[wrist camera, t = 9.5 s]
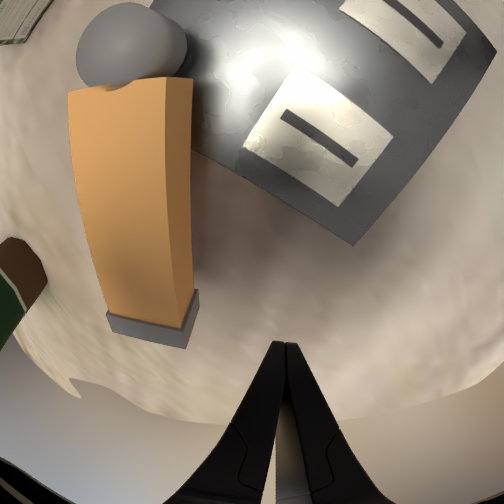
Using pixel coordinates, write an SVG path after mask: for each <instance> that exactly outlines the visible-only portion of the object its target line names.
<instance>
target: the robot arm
mask: <svg viewBox="0 0 504 504" xmlns="http://www.w3.org/2000/svg"><path fill="white" fill-rule="evenodd" d="M275 436H276V504H396V503H394V502H392V501H391V500H389V499H388V498H387V497H385V496H384V495H383V494H382V493H381V492H380V491H379V490H378V489H377V487H376V486H375V484H374V483H373V482H372V480H371V479H370V477H369V476H368V474H367V473H366V472H365V470H364V469H363V467H362V466H361V464H360V463H359V461H358V460H357V458H356V457H355V455H354V454H353V452H352V450H351V449H350V447H349V445H348V443H347V441H346V439H345V437H344V435H343V433H342V432H341V430H340V429H339V426H338V424H337V422H336V420H335V418H334V416H333V414H332V412H331V410H330V408H329V406H328V404H327V402H326V400H325V398H324V396H323V394H322V392H321V390H320V388H319V386H318V384H317V382H316V380H315V378H314V376H313V374H312V372H311V370H310V368H309V366H308V364H307V362H306V360H305V358H304V356H303V354H302V352H301V350H300V347H299V346H298V344H297V343H291V342H286V343H284V342H282V341H272V343H271V345H270V347H269V349H268V351H267V353H266V355H265V357H264V359H263V361H262V363H261V365H260V367H259V369H258V371H257V373H256V375H255V377H254V379H253V381H252V383H251V385H250V387H249V388H248V390H247V392H246V394H245V396H244V398H243V400H242V402H241V404H240V405H239V407H238V409H237V411H236V413H235V415H234V416H233V418H232V420H231V423H229V425H228V427H227V429H226V430H225V432H224V434H223V436H222V437H221V439H220V440H219V442H218V443H217V445H216V446H215V448H214V449H213V450H212V451H211V453H210V454H209V455H208V457H207V458H206V459H205V460H204V461H203V463H202V464H201V465H200V466H199V467H198V468H197V470H196V471H195V472H194V473H193V474H192V475H191V477H190V478H189V479H188V480H187V481H186V482H185V483H184V484H183V485H182V486H181V487H180V488H179V489H178V491H176V493H175V494H173V495H172V496H171V497H170V498H169V499H168V500H166V501H165V502H164V503H163V504H261V499H262V495H263V493H262V492H263V490H264V486H265V482H266V477H267V473H268V468H269V464H270V459H271V455H272V450H273V445H274V439H275ZM0 504H75V503H73V502H72V501H70V500H68V499H66V498H65V497H63V496H61V495H59V494H58V493H56V492H54V491H53V490H51V489H50V488H48V487H47V486H45V485H43V484H42V483H40V482H39V481H38V480H36V479H35V478H33V477H32V476H30V475H29V474H28V473H26V472H25V471H23V470H21V469H20V468H18V467H17V466H15V465H14V464H12V463H11V462H9V461H7V460H5V459H3V458H1V457H0ZM472 504H504V491H502V492H500V493H498V494H495V495H493V496H491V497H488V498H486V499H483V500H480V501H478V502H475V503H472Z"/></svg>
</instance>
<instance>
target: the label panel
mask: <svg viewBox="0 0 504 504" xmlns="http://www.w3.org/2000/svg"><path fill="white" fill-rule="evenodd" d="M149 9H152V10H154V11H156V12H158V13H160V14H162V15H164V16H166V17H168V18H170V19H171V20H173V21H175V22H176V23H178V24H179V25H180V26H181V28H182V29H183V31H184V33H185V35H186V39H187V50H186V55H185V58H184V60H183V62H182V64H181V66H180V67H179V69H178V70H177V71H176V72H175V73H174V75H172V76H171V77H178V78H191V79H193V94H192V115H191V149H193V150H195V151H197V152H199V153H201V154H203V155H204V156H206V157H208V158H210V159H212V160H214V161H215V162H217V163H219V164H221V165H223V166H224V167H226V168H228V169H230V170H231V171H233V172H235V173H237V174H238V175H240V176H242V177H244V178H245V179H247V180H249V181H251V182H252V183H254V184H256V185H257V186H259V187H261V188H262V189H264V190H266V191H267V192H269V193H271V194H272V195H274V196H276V197H277V198H279V199H281V200H282V201H284V202H285V203H287V204H289V205H290V206H292V207H294V208H295V209H297V210H298V211H300V212H302V213H303V214H305V215H306V216H308V217H309V218H311V219H312V220H314V221H316V222H317V223H319V224H320V225H322V226H323V227H325V228H326V229H328V230H329V231H331V232H332V233H334V234H335V235H337V236H338V237H340V238H341V239H343V240H344V241H346V242H347V243H349V244H350V245H352V246H354V245H355V244H356V242H357V241H358V240H359V239H360V238H361V237H362V236H363V235H364V234H365V232H366V231H367V230H368V229H369V228H370V227H371V226H372V225H373V223H374V222H375V221H376V220H377V219H378V218H379V216H380V215H381V214H382V213H383V212H384V211H385V209H386V208H387V207H388V206H389V205H390V204H391V202H392V201H393V200H394V199H395V198H396V196H397V195H398V194H399V193H400V192H401V190H402V189H403V188H404V187H405V185H406V184H407V183H408V182H409V180H410V179H411V178H412V177H413V175H414V174H415V173H416V172H417V170H418V169H419V168H420V167H421V165H422V164H423V163H424V161H425V160H426V159H427V157H428V156H429V155H430V154H431V152H432V151H433V150H434V148H435V147H436V145H437V144H438V143H439V141H440V140H441V139H442V137H443V136H444V135H445V133H446V132H447V130H448V129H449V128H450V126H451V125H452V123H453V122H454V120H455V119H456V117H457V116H458V115H459V113H460V112H461V110H462V109H463V107H464V106H465V104H466V103H467V101H468V100H469V98H470V96H471V95H472V93H473V92H474V90H475V89H476V87H477V85H478V84H479V82H480V80H481V79H482V77H483V76H484V74H485V72H486V70H487V69H488V67H489V65H490V64H491V62H492V60H493V58H494V57H495V55H496V53H497V51H496V49H495V48H494V47H493V45H492V44H491V43H490V41H489V40H488V39H487V38H486V36H485V35H484V34H483V33H482V31H481V30H480V29H479V28H478V27H477V25H476V24H475V23H474V22H473V21H472V20H471V19H470V17H469V16H468V15H467V14H466V13H465V12H464V11H463V10H462V9H461V8H460V7H459V6H458V5H457V4H456V3H455V2H454V1H453V0H154V1H153V3H152V4H151V6H150V7H149Z"/></svg>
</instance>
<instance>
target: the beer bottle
mask: <svg viewBox="0 0 504 504" xmlns="http://www.w3.org/2000/svg"><path fill="white" fill-rule="evenodd" d="M46 284H47V278H46V275H45V273H44V270H43V267H42V264H41V261H40V259H39V258H38V257H37V256H36V255H35V254H34V252H33V251H32V250H31V249H30V248H29V246H28V245H27V244H26V243H25V242H24V241H21V240H18V239H14V238H7V239H6V240H5V241H4V242H2V243H1V244H0V351H1V349H2V348H3V346H4V345H5V343H6V341H7V340H8V338H9V337H10V335H11V334H12V332H13V331H14V330H15V328H16V327H17V325H18V324H19V322H20V321H21V320H22V318H23V317H24V316H25V314H26V313H27V311H28V310H29V309H30V307H31V306H32V305H33V304H34V302H35V301H36V299H37V298H38V296H39V295H40V293H41V292H42V290H43V289H44V287H45V285H46Z"/></svg>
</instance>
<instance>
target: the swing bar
mask: <svg viewBox="0 0 504 504" xmlns="http://www.w3.org/2000/svg"><path fill="white" fill-rule="evenodd" d="M186 50H187V39H186V35H185V33H184V31H183V29H182V28H181V26H180V25H179V24H178V23H176V22H175V21H173V20H171V19H170V18H168V17H166V16H164V15H162V14H160V13H158V12H156V11H154V10H152V9H149V8H147V7H145V6H143V5H141V4H137V3H131V2H127V3H120V4H117V5H114V6H111V7H109V8H107V9H106V10H104V11H102V12H101V13H100V14H98V15H97V16H96V17H95V18H94V19H93V20H92V21H91V22H90V23H89V25H88V26H87V27H86V29H85V30H84V32H83V34H82V36H81V38H80V41H79V43H78V47H77V52H76V66H77V70H78V73H79V75H80V77H81V79H82V80H83V82H84V83H85V84H86V85H87V86H89V88H84V89H80V90H76V91H72V92H68V117H69V133H70V145H71V154H72V163H73V170H74V177H75V184H76V190H77V195H78V201H79V206H80V211H81V216H82V220H83V225H84V229H85V233H86V237H87V241H88V245H89V249H90V253H91V256H92V260H93V263H94V267H95V270H96V273H97V277H98V280H99V283H100V286H101V289H102V292H103V295H104V298H105V301H106V303H107V306H108V311H107V313H106V317H107V319H108V322H109V324H110V326H111V329H112V331H113V332H115V333H119V334H122V335H126V336H130V337H134V338H138V339H142V340H146V341H150V342H154V343H159V344H163V345H168V346H173V347H177V348H182V349H186V347H187V344H188V341H189V338H190V335H191V332H192V329H193V325H194V322H195V319H196V316H197V313H198V310H199V293H198V289H194V279H193V261H192V238H191V200H190V152H191V115H192V94H193V79H191V78H178V77H171V76H172V75H174V73H175V72H176V71H177V70H178V69H179V67H180V66H181V64H182V62H183V60H184V58H185V55H186Z"/></svg>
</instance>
